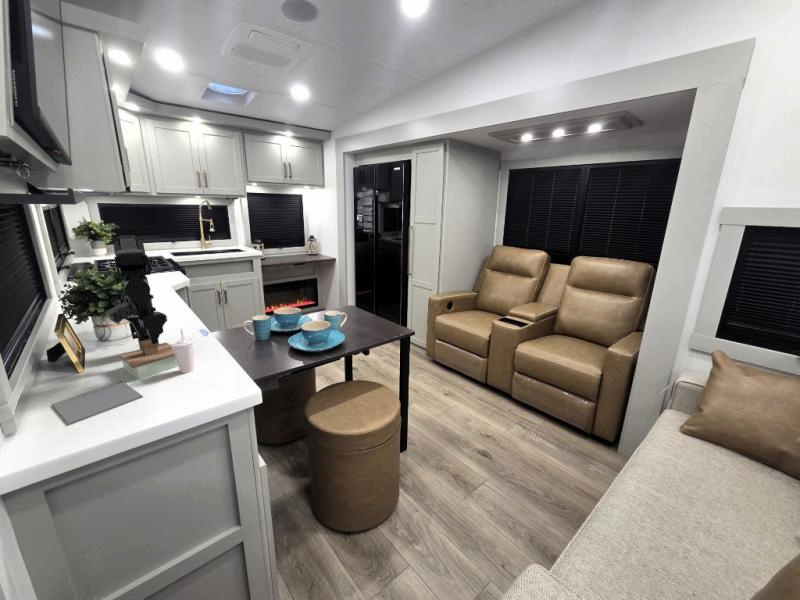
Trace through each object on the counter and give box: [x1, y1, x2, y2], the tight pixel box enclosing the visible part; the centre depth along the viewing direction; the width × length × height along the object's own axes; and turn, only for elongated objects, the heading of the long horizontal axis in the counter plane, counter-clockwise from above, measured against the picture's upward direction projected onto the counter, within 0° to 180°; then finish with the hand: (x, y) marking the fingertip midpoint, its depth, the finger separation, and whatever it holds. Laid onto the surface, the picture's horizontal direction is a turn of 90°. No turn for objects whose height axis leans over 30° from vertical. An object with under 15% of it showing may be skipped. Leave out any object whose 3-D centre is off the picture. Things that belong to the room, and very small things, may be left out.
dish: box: [121, 356, 179, 380], centre depth 109 cm, size 12×12×4 cm
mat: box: [51, 380, 144, 426], centre depth 90 cm, size 15×15×1 cm
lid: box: [119, 339, 175, 368], centre depth 108 cm, size 13×13×5 cm
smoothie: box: [170, 328, 195, 374], centre depth 106 cm, size 6×6×14 cm
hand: (148, 340), depth 107 cm, fingers open, 9 cm apart
